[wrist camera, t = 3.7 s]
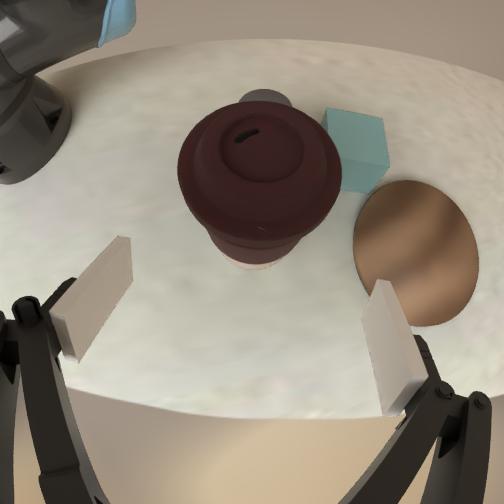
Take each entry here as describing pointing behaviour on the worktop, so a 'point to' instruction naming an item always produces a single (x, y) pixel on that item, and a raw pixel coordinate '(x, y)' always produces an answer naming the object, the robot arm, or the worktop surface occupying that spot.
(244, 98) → the gray cylinder
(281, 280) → the worktop surface
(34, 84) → the robot arm
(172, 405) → the worktop surface
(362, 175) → the teal block
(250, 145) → the coffee cup
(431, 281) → the walnut board
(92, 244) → the worktop surface
